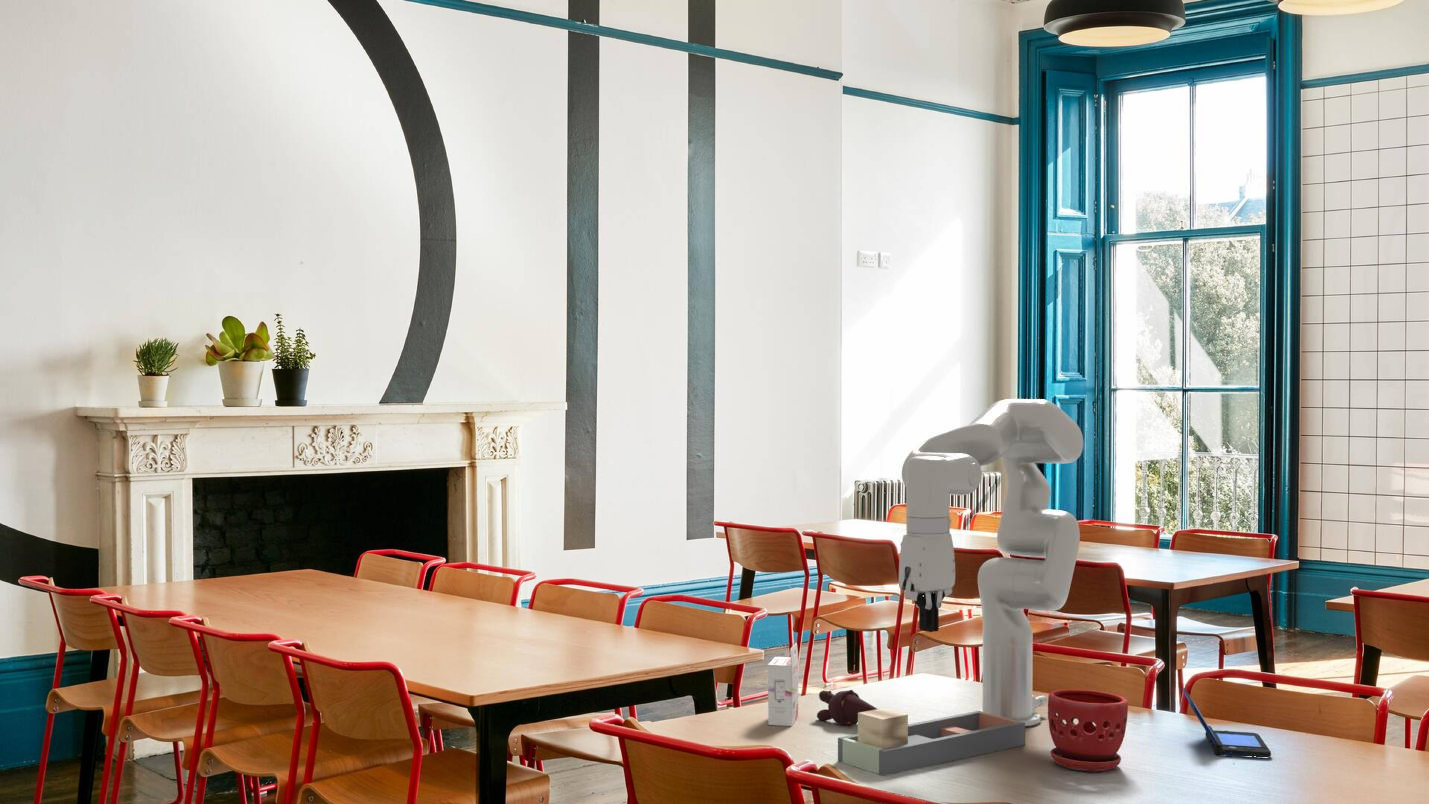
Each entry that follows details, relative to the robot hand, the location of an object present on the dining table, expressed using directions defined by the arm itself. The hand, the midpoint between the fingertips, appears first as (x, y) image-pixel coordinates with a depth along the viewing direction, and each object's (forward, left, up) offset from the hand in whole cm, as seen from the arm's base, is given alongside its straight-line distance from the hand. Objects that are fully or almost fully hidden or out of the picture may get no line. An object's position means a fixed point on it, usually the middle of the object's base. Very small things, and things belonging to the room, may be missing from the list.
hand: (928, 630), depth 234 cm
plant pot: (-17, +21, -22) cm, 35 cm away
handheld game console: (-47, +28, -22) cm, 59 cm away
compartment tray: (-1, 0, -22) cm, 22 cm away
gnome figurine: (-3, -24, -22) cm, 33 cm away
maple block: (+11, 0, -19) cm, 22 cm away
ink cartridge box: (+5, -34, -22) cm, 41 cm away
